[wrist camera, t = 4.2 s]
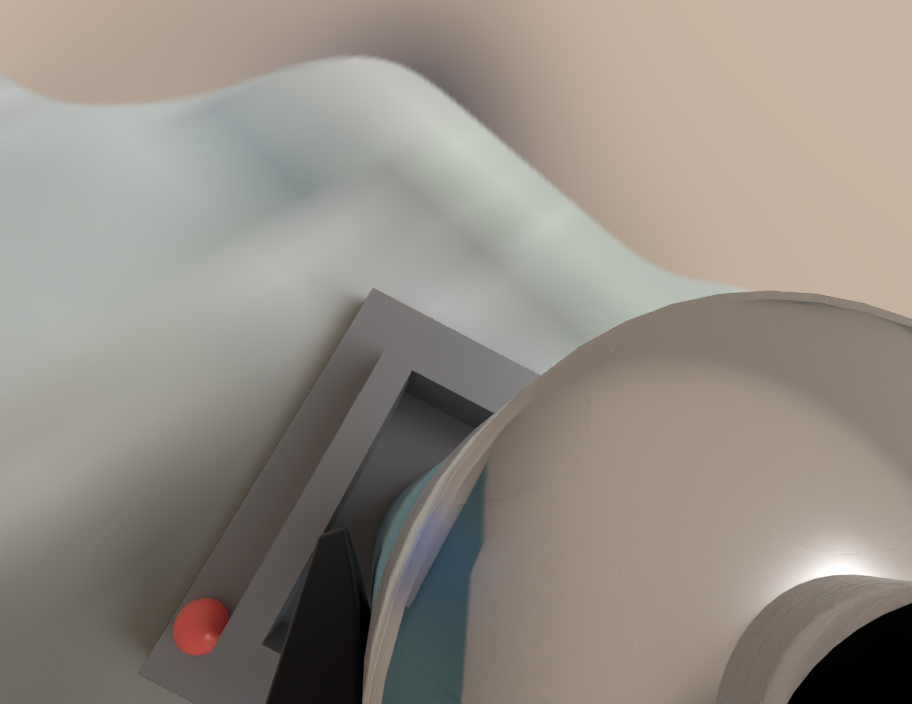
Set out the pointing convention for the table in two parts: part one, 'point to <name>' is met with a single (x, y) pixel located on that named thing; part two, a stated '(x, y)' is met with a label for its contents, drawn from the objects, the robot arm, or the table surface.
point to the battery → (668, 522)
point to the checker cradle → (328, 490)
